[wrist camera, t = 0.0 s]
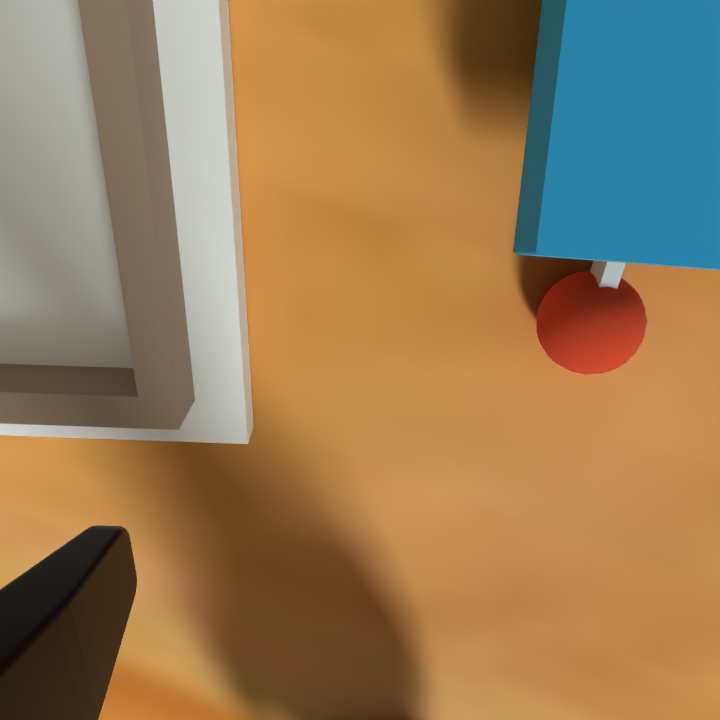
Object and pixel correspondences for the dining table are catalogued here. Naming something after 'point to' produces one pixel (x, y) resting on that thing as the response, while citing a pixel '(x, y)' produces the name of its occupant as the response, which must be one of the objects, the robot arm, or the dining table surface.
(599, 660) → the dining table surface
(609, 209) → the lever
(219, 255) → the stand
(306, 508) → the dining table surface
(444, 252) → the dining table surface
